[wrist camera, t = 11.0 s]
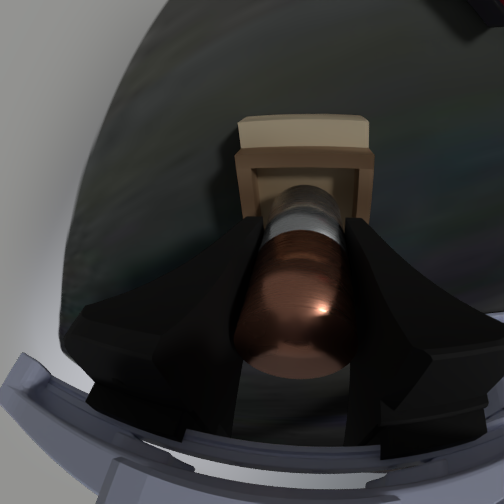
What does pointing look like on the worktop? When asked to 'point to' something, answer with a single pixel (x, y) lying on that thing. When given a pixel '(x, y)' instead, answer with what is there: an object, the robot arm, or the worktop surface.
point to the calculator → (489, 11)
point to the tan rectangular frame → (305, 160)
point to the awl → (300, 291)
